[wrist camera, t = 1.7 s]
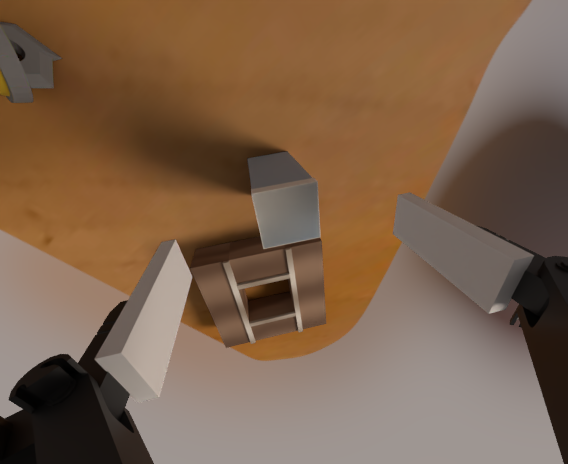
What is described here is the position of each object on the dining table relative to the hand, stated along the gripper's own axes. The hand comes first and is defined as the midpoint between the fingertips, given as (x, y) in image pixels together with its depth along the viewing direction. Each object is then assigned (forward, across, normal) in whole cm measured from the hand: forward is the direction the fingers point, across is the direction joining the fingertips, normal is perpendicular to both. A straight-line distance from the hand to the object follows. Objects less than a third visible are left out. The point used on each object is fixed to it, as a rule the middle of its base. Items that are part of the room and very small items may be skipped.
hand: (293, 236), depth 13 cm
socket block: (+12, -3, -13) cm, 18 cm away
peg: (+12, 0, +1) cm, 12 cm away
